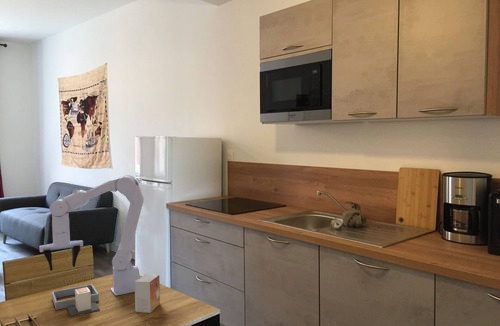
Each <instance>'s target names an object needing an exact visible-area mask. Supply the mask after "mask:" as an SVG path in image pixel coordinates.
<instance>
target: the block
mask: <svg viewBox="0 0 500 326" xmlns="http://www.w3.org/2000/svg"><path fill="white" fill-rule="evenodd" d="M91 295H92V292H91V291H90V290H89V289H88V287H86V288H81V289H76V290H75V294H74V298H75V304H76V308H77V310H78V312H80V311H84V310H88V309H91Z"/></svg>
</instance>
